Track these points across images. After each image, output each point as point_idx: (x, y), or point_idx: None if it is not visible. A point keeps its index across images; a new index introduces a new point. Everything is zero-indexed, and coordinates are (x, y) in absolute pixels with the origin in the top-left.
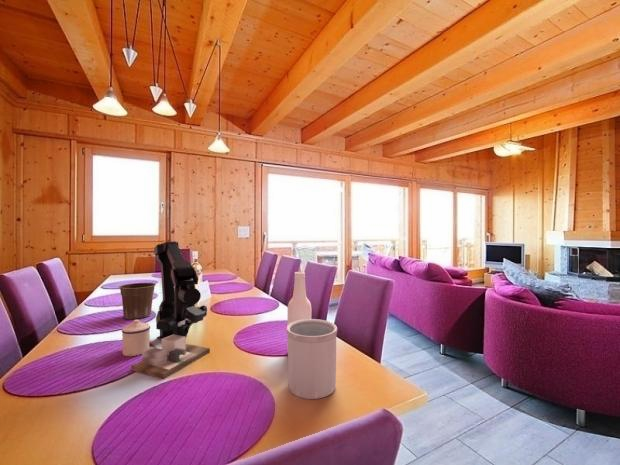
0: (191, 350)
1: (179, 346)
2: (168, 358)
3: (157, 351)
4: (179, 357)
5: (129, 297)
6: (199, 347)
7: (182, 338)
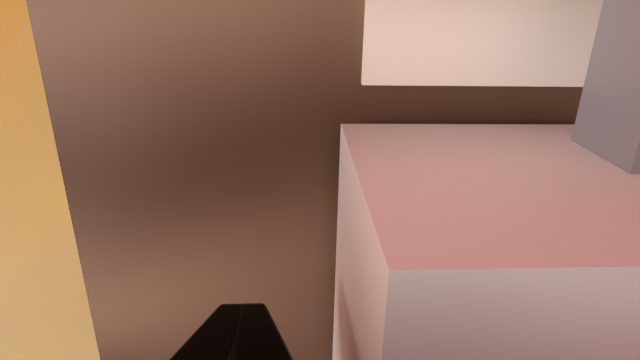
0: (260, 55)
1: (552, 174)
2: None
3: None
4: None
5: None
6: (77, 8)
7: (541, 261)
